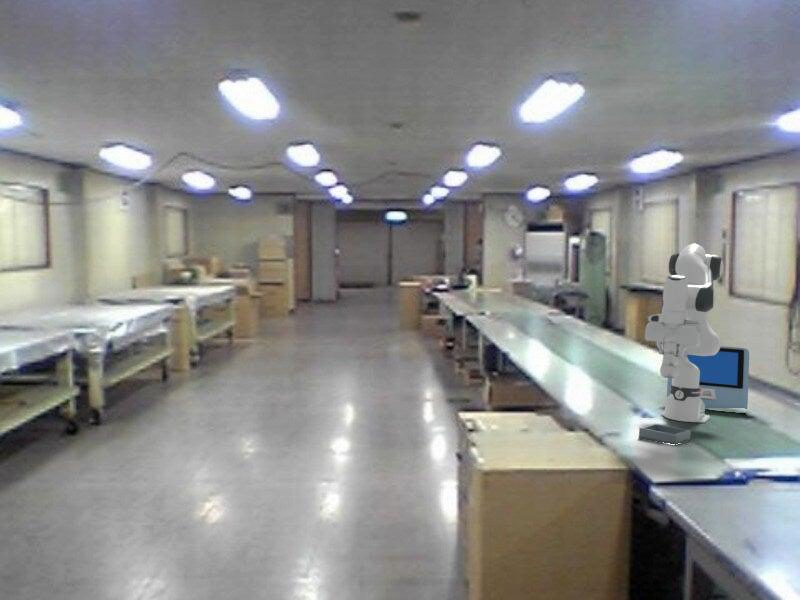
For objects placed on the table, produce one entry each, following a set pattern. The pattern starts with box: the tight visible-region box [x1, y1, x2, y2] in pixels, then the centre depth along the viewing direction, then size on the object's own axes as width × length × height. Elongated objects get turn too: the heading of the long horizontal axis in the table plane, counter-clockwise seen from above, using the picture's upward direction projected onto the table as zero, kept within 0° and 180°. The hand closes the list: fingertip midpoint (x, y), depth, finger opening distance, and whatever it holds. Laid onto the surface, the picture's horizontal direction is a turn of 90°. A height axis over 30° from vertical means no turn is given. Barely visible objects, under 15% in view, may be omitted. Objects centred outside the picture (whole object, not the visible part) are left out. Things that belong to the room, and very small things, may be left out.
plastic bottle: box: [659, 329, 680, 379], centre depth 296 cm, size 6×7×20 cm
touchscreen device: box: [666, 345, 750, 410], centre depth 374 cm, size 35×20×30 cm, turn 73°
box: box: [638, 423, 692, 445], centre depth 298 cm, size 14×14×4 cm
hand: (670, 355), depth 296 cm, fingers closed on plastic bottle, 6 cm apart
